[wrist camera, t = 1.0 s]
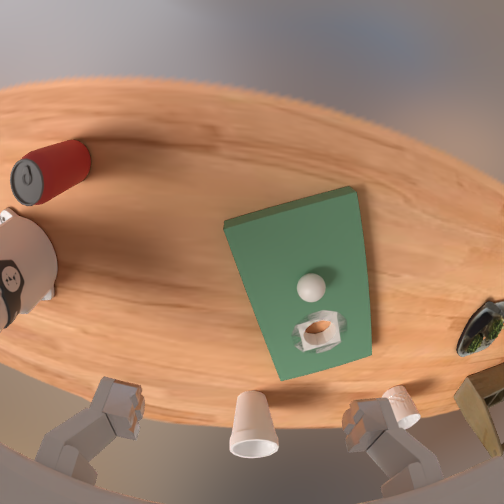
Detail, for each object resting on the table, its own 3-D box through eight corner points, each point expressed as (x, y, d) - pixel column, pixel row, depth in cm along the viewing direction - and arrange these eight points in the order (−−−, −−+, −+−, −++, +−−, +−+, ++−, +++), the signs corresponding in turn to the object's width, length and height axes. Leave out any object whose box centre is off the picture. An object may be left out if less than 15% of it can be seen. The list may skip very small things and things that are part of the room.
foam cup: (223, 391, 58) (222, 443, 46) (265, 382, 57) (270, 435, 45) (239, 412, 62) (240, 460, 50) (277, 404, 61) (283, 453, 49)
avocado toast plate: (518, 290, 52) (528, 300, 47) (493, 343, 60) (501, 353, 55) (475, 298, 51) (486, 310, 47) (448, 356, 59) (456, 368, 55)
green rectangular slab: (279, 369, 55) (280, 381, 52) (224, 220, 41) (223, 229, 38) (367, 344, 53) (371, 355, 51) (349, 186, 39) (356, 191, 36)
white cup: (399, 399, 65) (411, 428, 56) (374, 404, 64) (385, 434, 55) (411, 381, 61) (425, 411, 52) (385, 385, 61) (399, 417, 52)
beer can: (94, 140, 35) (46, 155, 24) (91, 185, 37) (46, 214, 27) (58, 137, 34) (6, 153, 23) (56, 180, 37) (8, 207, 26)
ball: (297, 294, 43) (302, 311, 40) (292, 272, 42) (296, 288, 38) (323, 287, 43) (330, 303, 39) (319, 264, 41) (326, 279, 38)
